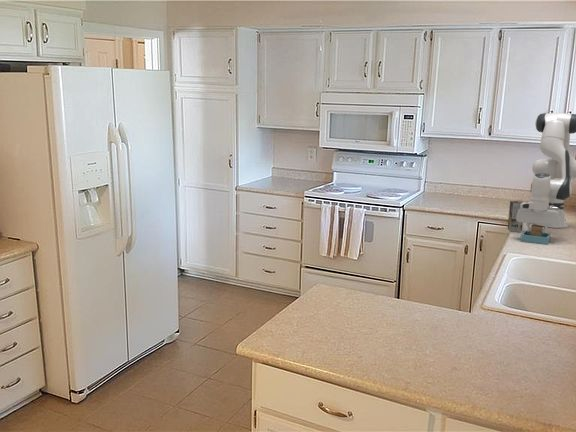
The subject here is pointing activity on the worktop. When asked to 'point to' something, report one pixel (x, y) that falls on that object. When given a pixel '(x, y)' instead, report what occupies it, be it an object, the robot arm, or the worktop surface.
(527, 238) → the tray
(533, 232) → the walnut block
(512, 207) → the coffee box
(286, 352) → the worktop surface
